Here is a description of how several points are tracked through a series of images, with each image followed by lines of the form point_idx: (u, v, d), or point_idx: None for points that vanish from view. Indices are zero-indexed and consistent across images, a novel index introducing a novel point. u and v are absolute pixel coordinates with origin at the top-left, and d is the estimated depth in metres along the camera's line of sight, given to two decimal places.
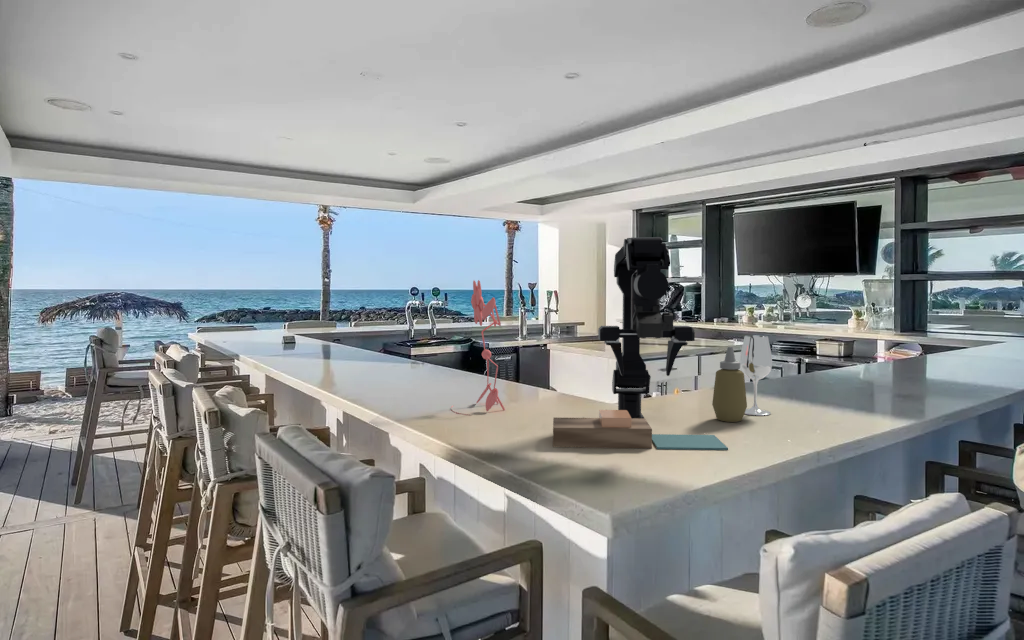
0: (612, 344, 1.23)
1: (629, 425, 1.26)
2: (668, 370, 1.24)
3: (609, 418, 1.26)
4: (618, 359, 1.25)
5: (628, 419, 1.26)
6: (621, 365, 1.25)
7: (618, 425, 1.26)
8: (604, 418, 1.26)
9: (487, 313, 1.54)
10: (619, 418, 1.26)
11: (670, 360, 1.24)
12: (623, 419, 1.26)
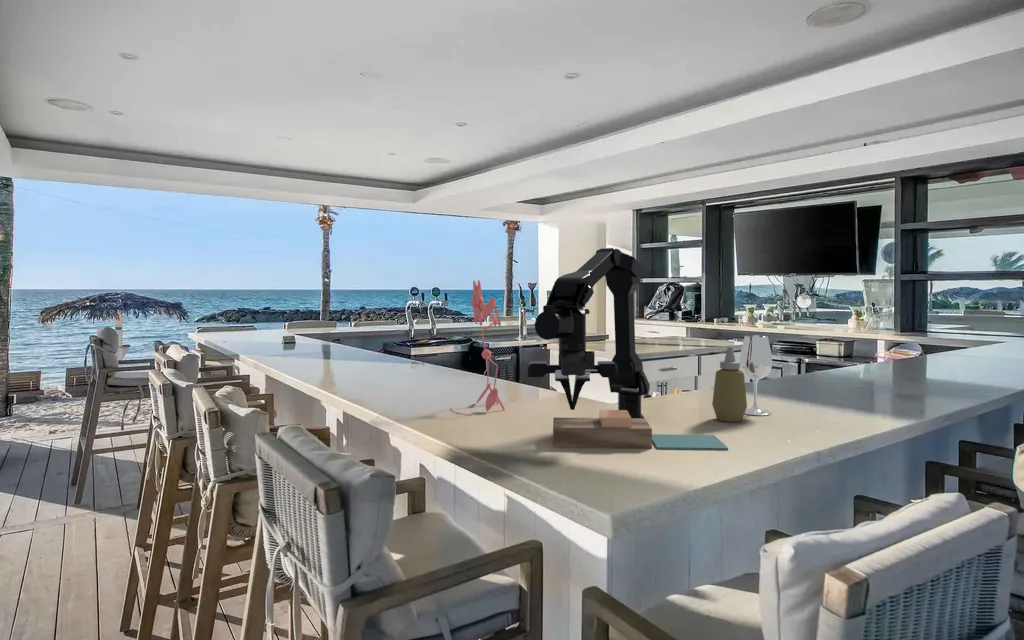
0: (560, 380, 1.27)
1: (629, 425, 1.26)
2: (573, 404, 1.30)
3: (609, 418, 1.26)
4: (567, 394, 1.29)
5: (628, 419, 1.26)
6: (570, 400, 1.29)
7: (618, 425, 1.26)
8: (604, 418, 1.26)
9: (487, 313, 1.54)
10: (619, 418, 1.26)
11: (574, 395, 1.29)
12: (623, 419, 1.26)
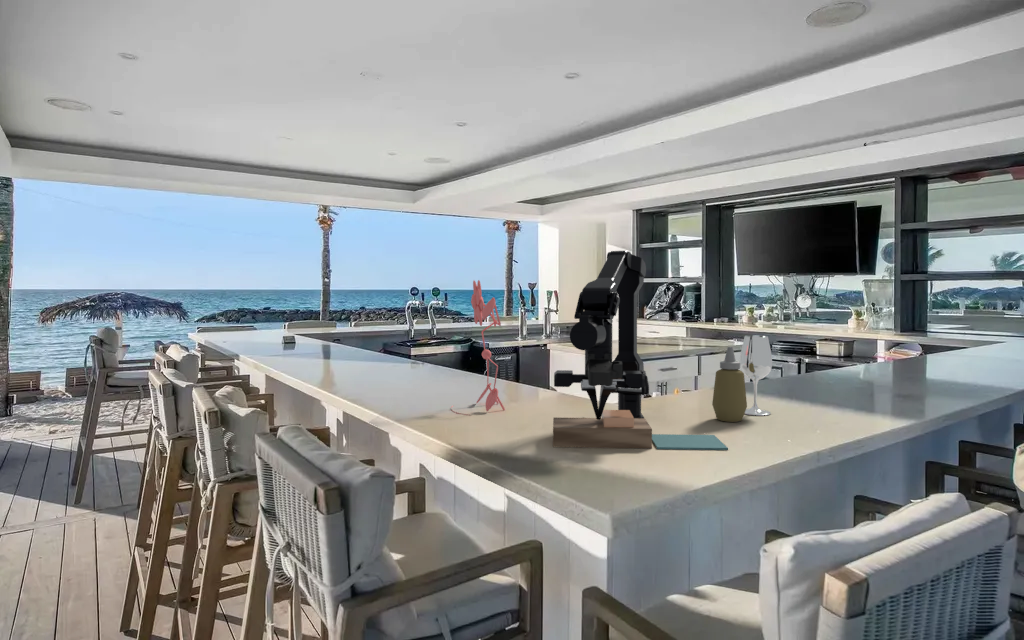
0: (587, 390, 1.27)
1: (631, 425, 1.25)
2: (599, 414, 1.29)
3: (611, 418, 1.26)
4: (593, 404, 1.29)
5: (630, 419, 1.25)
6: (596, 409, 1.29)
7: (620, 425, 1.26)
8: (606, 418, 1.26)
9: (487, 313, 1.54)
10: (621, 418, 1.26)
11: (601, 405, 1.29)
12: (625, 419, 1.26)
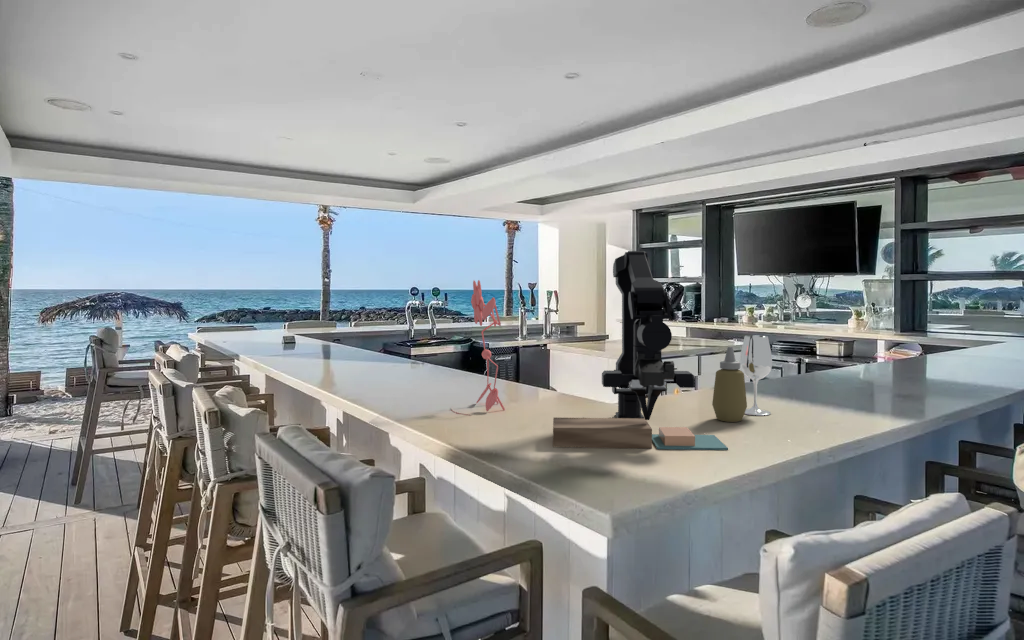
0: (636, 390, 1.26)
1: (667, 437, 1.25)
2: (648, 414, 1.28)
3: (687, 444, 1.25)
4: (642, 404, 1.28)
5: (668, 443, 1.25)
6: (645, 410, 1.28)
7: (678, 437, 1.25)
8: (692, 444, 1.25)
9: (487, 313, 1.54)
10: (676, 444, 1.25)
11: (650, 405, 1.28)
12: (673, 443, 1.25)
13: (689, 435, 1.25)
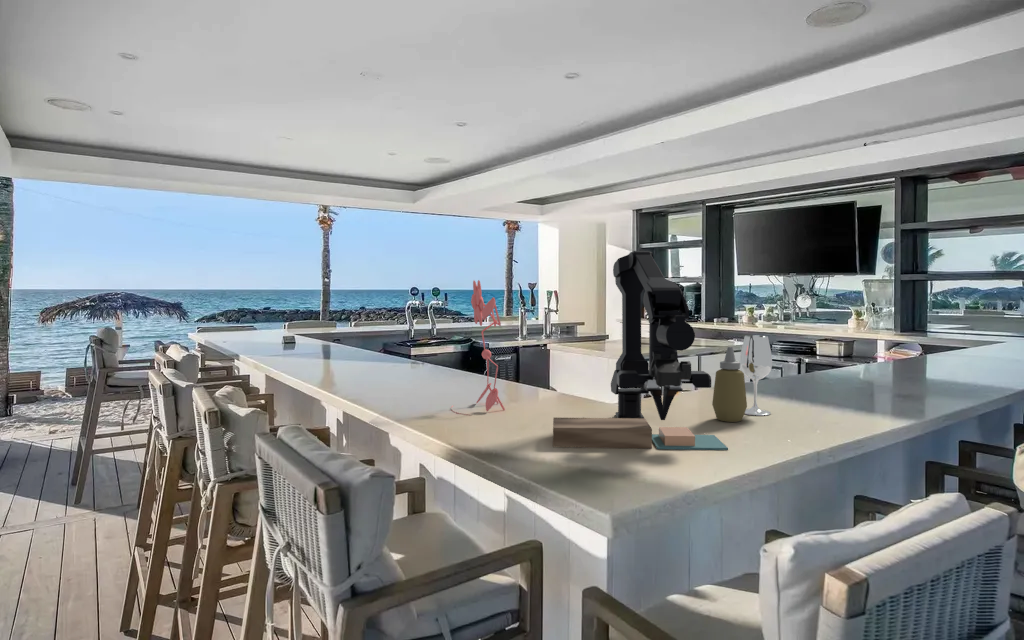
0: (652, 390, 1.26)
1: (667, 437, 1.25)
2: (664, 415, 1.28)
3: (687, 444, 1.25)
4: (658, 404, 1.28)
5: (668, 443, 1.25)
6: (661, 410, 1.28)
7: (678, 437, 1.25)
8: (692, 444, 1.25)
9: (487, 313, 1.54)
10: (676, 444, 1.25)
11: (666, 405, 1.28)
12: (673, 443, 1.25)
13: (689, 435, 1.25)
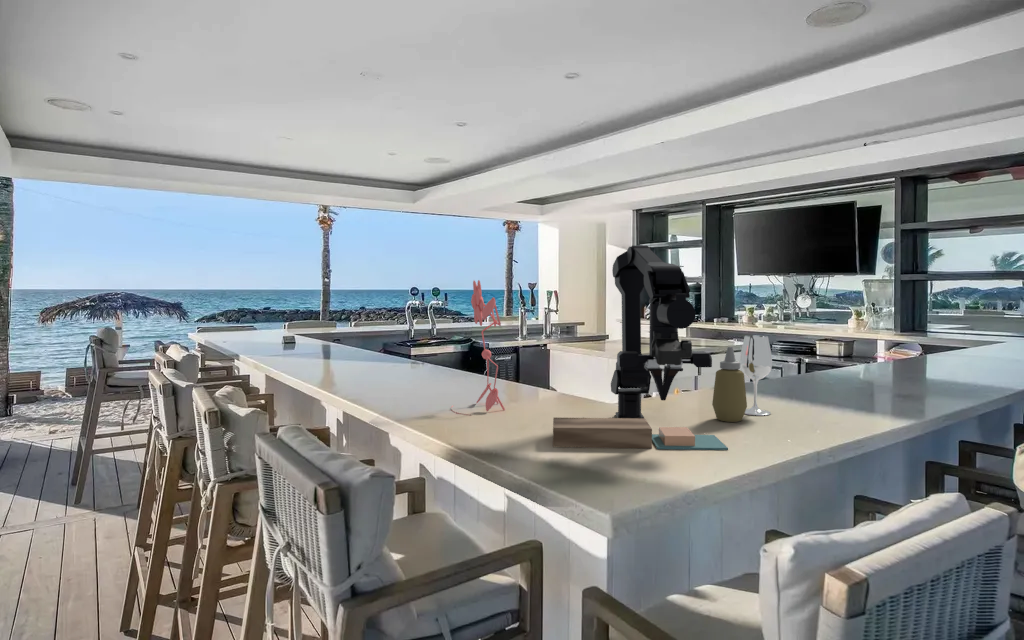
0: (653, 370, 1.26)
1: (667, 437, 1.25)
2: (664, 395, 1.28)
3: (687, 444, 1.25)
4: (658, 384, 1.27)
5: (668, 443, 1.25)
6: (661, 390, 1.28)
7: (678, 437, 1.25)
8: (692, 444, 1.25)
9: (487, 313, 1.54)
10: (676, 444, 1.25)
11: (666, 385, 1.27)
12: (673, 443, 1.25)
13: (689, 435, 1.25)
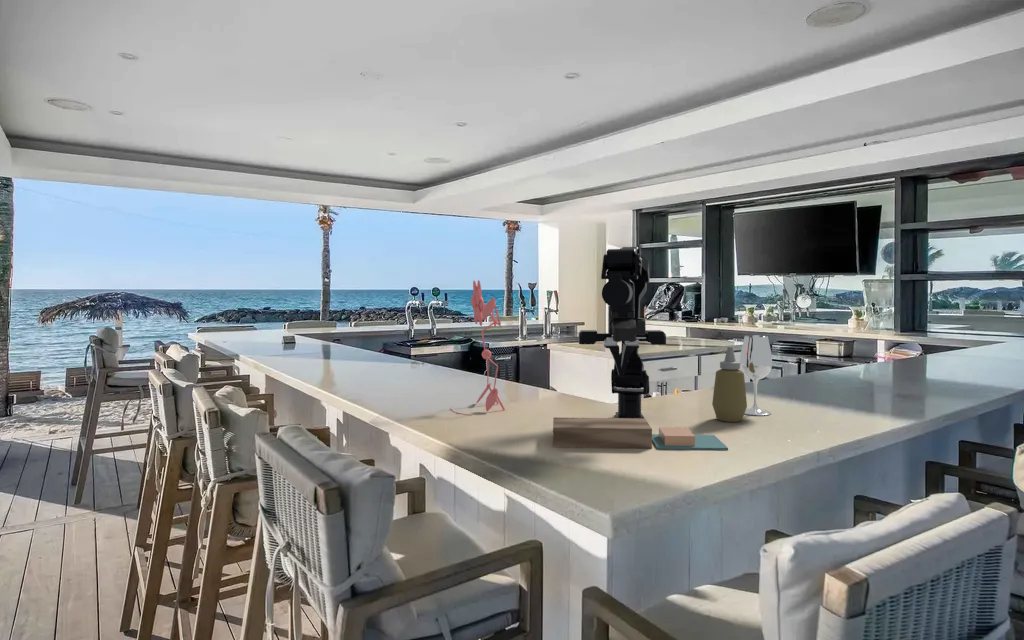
0: (611, 347, 1.33)
1: (667, 437, 1.25)
2: (622, 371, 1.35)
3: (687, 444, 1.25)
4: (616, 361, 1.35)
5: (668, 443, 1.25)
6: (619, 366, 1.35)
7: (678, 437, 1.25)
8: (692, 444, 1.25)
9: (487, 313, 1.54)
10: (676, 444, 1.25)
11: (624, 362, 1.35)
12: (673, 443, 1.25)
13: (689, 435, 1.25)
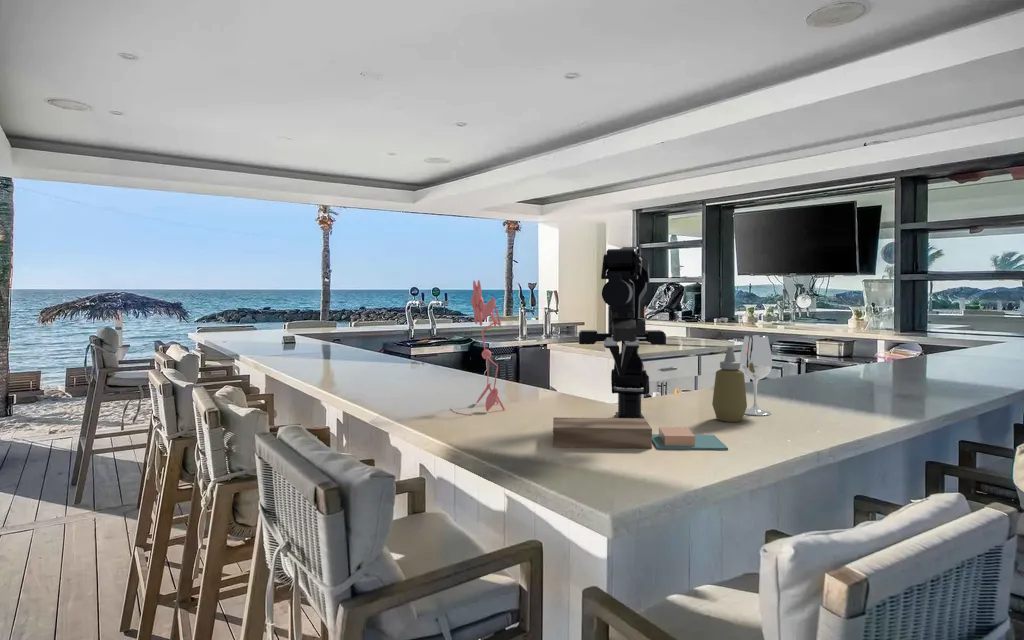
0: (611, 347, 1.33)
1: (667, 437, 1.25)
2: (622, 371, 1.35)
3: (687, 444, 1.25)
4: (616, 361, 1.35)
5: (668, 443, 1.25)
6: (619, 366, 1.35)
7: (678, 437, 1.25)
8: (692, 444, 1.25)
9: (487, 313, 1.54)
10: (676, 444, 1.25)
11: (624, 362, 1.35)
12: (673, 443, 1.25)
13: (689, 435, 1.25)
